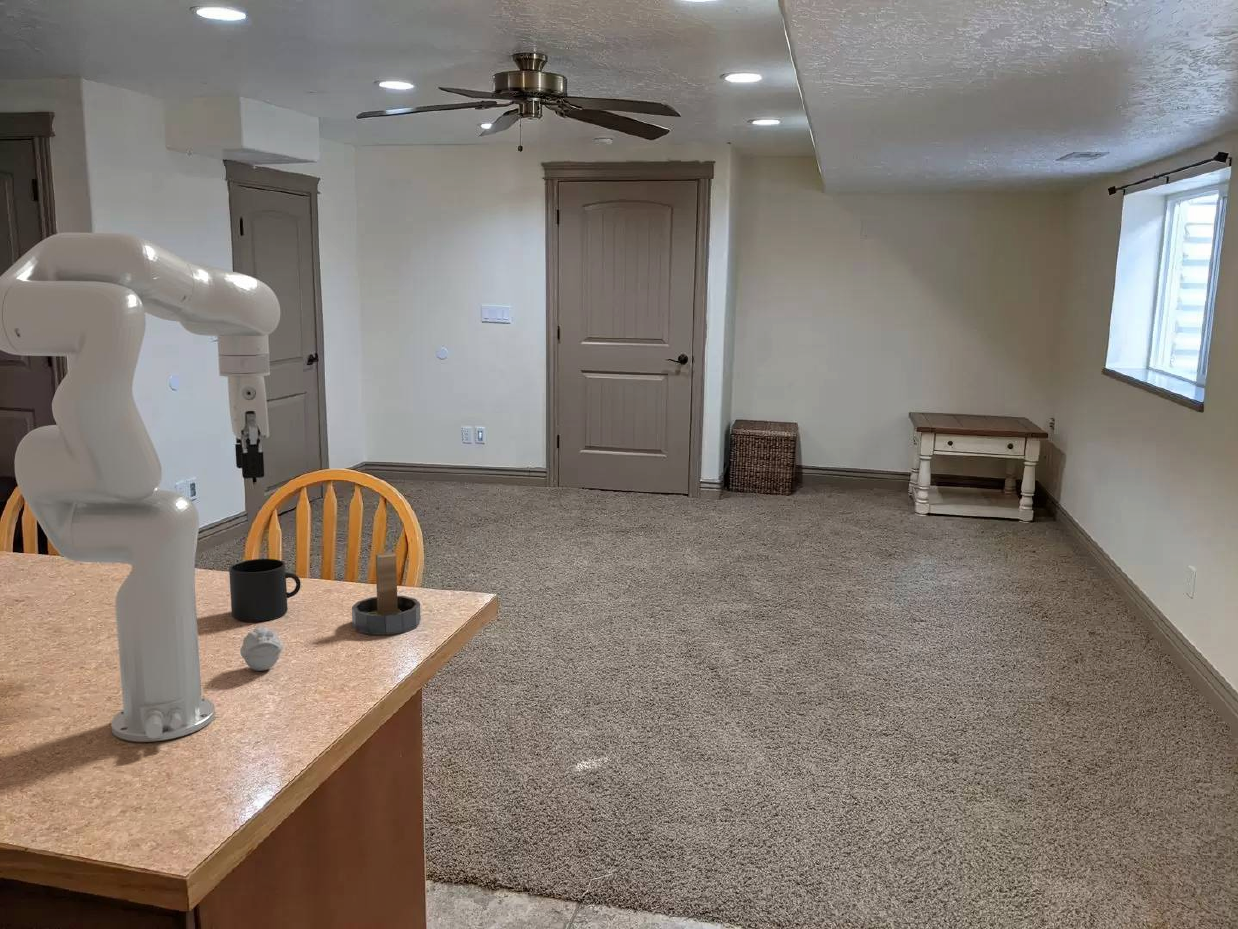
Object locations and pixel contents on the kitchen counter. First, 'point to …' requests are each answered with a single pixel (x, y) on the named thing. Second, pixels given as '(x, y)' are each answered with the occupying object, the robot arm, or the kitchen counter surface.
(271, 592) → the mug
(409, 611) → the dark grey round tray
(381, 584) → the brown rectangular bar
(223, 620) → the kitchen counter surface
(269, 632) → the frog figurine
